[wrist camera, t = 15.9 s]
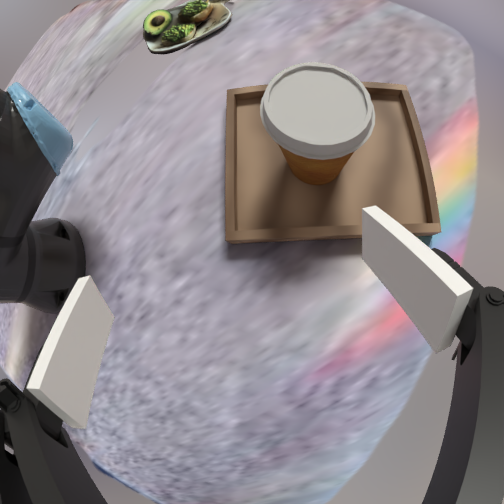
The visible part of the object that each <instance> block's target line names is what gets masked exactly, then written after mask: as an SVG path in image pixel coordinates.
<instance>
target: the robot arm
mask: <svg viewBox="0 0 504 504" xmlns="http://www.w3.org/2000/svg"><path fill="white" fill-rule="evenodd" d="M72 147H73V139H72V136H71V134H70V133H69V132H68V130H67V129H66V128H65V127H64V126H63V125H62V124H61V123H60V122H59V121H58V120H57V119H56V118H55V117H54V116H53V115H52V114H51V113H50V112H49V111H48V110H47V109H46V108H45V107H44V106H43V105H42V104H41V103H40V102H39V101H38V100H37V99H36V98H35V97H34V96H33V95H32V94H31V93H30V92H28V91H27V90H26V89H25V88H24V87H23V86H22V85H21V84H20V83H18V82H15V83H13V84H12V85H11V86H9V87H8V89H7V92H4V91H3V90H1V89H0V303H23V304H25V305H28V306H30V307H33V308H35V309H38V310H40V311H43V312H46V313H59V315H58V317H57V319H56V321H55V323H54V325H53V327H52V329H51V331H50V333H49V336H48V338H47V340H46V342H45V344H44V345H43V346H42V347H41V349H40V351H39V353H38V355H37V360H35V362H34V365H33V366H34V367H32V370H31V372H30V375H29V377H28V380H27V382H26V385H25V388H24V390H23V393H22V392H21V391H20V390H19V389H18V388H17V387H16V386H15V385H14V384H13V383H12V382H11V381H10V380H9V379H2V380H1V381H0V408H1V410H0V504H107V502H106V501H105V499H104V498H103V496H102V495H101V493H100V491H99V490H98V488H97V487H96V485H95V484H94V482H93V480H92V479H91V477H90V475H89V474H88V472H87V470H86V468H85V467H84V465H83V463H82V461H81V459H80V457H79V456H78V454H77V452H76V450H75V448H74V446H73V444H72V442H71V440H70V437H69V435H68V433H67V431H66V430H65V429H64V428H63V427H62V422H63V421H64V422H65V423H66V424H68V425H69V426H70V427H72V428H79V429H86V426H87V421H88V416H89V411H90V406H91V401H92V397H93V393H94V388H95V384H96V380H97V376H98V372H99V368H100V365H101V361H102V357H103V354H104V350H105V347H106V343H107V340H108V337H109V334H110V330H111V327H112V324H113V321H114V318H115V317H114V315H113V314H112V312H111V311H110V309H109V307H108V306H107V304H106V302H105V301H104V299H103V297H102V295H101V294H100V292H99V290H98V288H97V287H96V285H95V283H94V281H93V279H92V278H91V276H86V277H84V274H85V253H84V247H83V243H82V240H81V237H80V235H79V233H78V231H77V229H76V228H75V227H74V226H73V225H72V224H71V223H69V222H68V221H65V220H61V219H57V218H48V219H42V220H37V221H32V219H33V217H34V215H35V213H36V211H37V209H38V207H39V205H40V203H41V201H42V200H43V198H44V196H45V194H46V192H47V191H48V189H49V187H50V185H51V184H52V182H53V180H54V179H55V177H56V176H59V174H60V169H61V167H62V166H63V164H64V162H65V161H66V159H67V157H68V156H69V154H70V152H71V150H72ZM362 259H363V260H364V261H365V263H366V264H367V265H368V266H369V267H370V269H371V270H372V271H373V272H374V273H375V275H376V276H377V277H378V278H379V280H380V281H381V282H382V283H383V284H384V286H385V287H386V288H387V289H388V291H389V292H390V293H391V294H392V296H393V297H394V298H395V299H396V301H397V302H398V303H399V305H400V306H401V307H402V308H403V310H404V311H405V312H406V314H407V315H408V316H409V318H410V319H411V320H412V322H413V323H414V324H415V326H416V327H417V328H418V330H419V331H420V332H421V334H422V335H423V337H424V338H425V339H426V341H427V342H428V344H429V345H430V346H431V348H432V349H433V351H434V352H435V353H438V352H440V351H442V350H444V349H446V348H447V347H449V346H451V344H452V342H453V340H454V337H455V335H456V336H457V337H458V338H459V339H460V342H459V344H458V346H457V348H456V350H455V353H454V354H453V357H452V360H454V359H455V357H456V355H457V364H456V373H455V381H454V388H453V395H452V401H451V407H450V412H449V417H448V422H447V426H446V430H445V435H444V439H443V443H442V446H441V450H440V454H439V457H438V460H437V464H436V467H435V470H434V473H433V476H432V479H431V482H430V484H429V487H428V490H427V493H426V495H425V498H424V500H423V502H422V504H502V500H503V497H504V292H503V291H502V290H500V289H499V288H496V287H485V288H484V287H482V286H481V285H480V284H479V283H478V282H477V281H476V280H475V279H474V278H473V277H472V276H471V275H470V274H469V273H467V272H466V271H465V270H464V269H463V268H462V267H460V265H459V264H458V263H457V262H454V260H453V259H452V258H451V257H450V256H448V255H447V254H446V253H445V252H442V251H440V250H438V249H436V248H433V249H430V248H429V247H428V246H426V245H425V244H424V243H423V242H422V241H420V240H419V239H418V238H417V237H416V236H414V235H413V234H412V233H411V232H409V231H408V230H407V229H406V228H404V227H403V226H402V225H401V224H399V223H398V222H397V221H396V220H394V219H393V218H392V217H390V216H389V215H388V214H386V213H385V212H384V211H382V210H381V209H380V208H378V207H377V206H371V207H366V208H362ZM4 444H6V445H7V446H9V447H10V448H12V449H13V450H14V454H13V455H12V454H11V453H9V452H8V451H6V450H5V447H4Z"/></svg>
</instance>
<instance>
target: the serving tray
mask: <svg viewBox="0 0 504 504" xmlns="http://www.w3.org/2000/svg"><path fill="white" fill-rule="evenodd" d="M362 83H363V85H364V86H365V88H366V90H367V91H368V93H369V94H370V98H371V101H372V104H373V106H374V111H375V125H374V128H373V131H372V134H371V136H370V137H369V138H368V140H367V141H366V142H365V143H364V144H363V146H361V147H360V148H359V149H357V150H356V151H354V153H353V154H352V156H351V157H350V159H349V160H348V162H347V163H346V165H345V166H344V167H343V169H342V170H341V172H340V173H339V175H338V176H337V177H336V178H335V179H334V180H333V181H331V182H329V183H327V184H323V185H310V184H307V183H304V182H302V181H301V180H299V179H298V178H297V177H295V175H294V174H293V173H292V171H291V169H290V167H289V165H288V163H287V161H286V159H285V157H284V155H283V153H282V151H281V149H280V147H279V145H278V143H277V142H275V141H274V140H273V139H272V137H271V136H270V135H269V134H268V132H267V131H266V129H265V127H264V125H263V123H262V119H261V116H260V105H261V100H262V97H263V95H264V93H265V91H266V88H267V86H268V85H259V86H250V87H243V88H236V89H229V90H227V109H226V173H225V231H226V241H227V242H229V243H231V244H237V243H257V242H279V241H301V240H325V239H349V238H362V208H366V207H371V206H377V207H378V208H380V209H381V210H382V211H384V212H385V213H386V214H388V215H389V216H390V217H392V218H393V219H394V220H396V221H397V222H398V223H399V224H401V225H402V226H403V227H404V228H406V229H407V230H408V231H409V232H411V233H412V234H413V235H414V236H432V235H435V234H438V233H440V232H441V226H440V218H439V211H438V204H437V198H436V192H435V187H434V182H433V177H432V172H431V167H430V163H429V159H428V154H427V150H426V146H425V143H424V139H423V135H422V132H421V128H420V125H419V122H418V118H417V115H416V112H415V109H414V106H413V103H412V100H411V97H410V95H409V92H408V89H407V87H406V85H400V84H390V83H377V82H362Z"/></svg>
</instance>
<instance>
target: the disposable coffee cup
mask: <svg viewBox="0 0 504 504" xmlns="http://www.w3.org/2000/svg"><path fill="white" fill-rule="evenodd" d="M260 116H261V119H262V123H263V125H264V127H265V129H266V131H267V132H268V134H269V135H270V136H271V137H272V139H273V140H274V141H275V142H277V143H278V145H279V147H280V149H281V151H282V153H283V155H284V157H285V159H286V161H287V163H288V165H289V167H290V169H291V171H292V173H293V174H294V175H295V177H297V178H298V179H299V180H301V181H302V182H304V183H307V184H310V185H323V184H327V183H329V182H331V181H333V180H334V179H335V178H336V177H337V176H338V175H339V173H340V172H341V170H342V169H343V167H344V166H345V165H346V163H347V162H348V160H349V159H350V157H351V156H352V154H353V153H354V151H356V150H357V149H359V148H360V147H361V146H363V144H364V143H365V142H366V141H367V140H368V138H369V137H370V136H371V134H372V131H373V128H374V125H375V111H374V106H373V104H372V101H371V98H370V94H369V93H368V91H367V90H366V88H365V86H364V85H363V83H362V82H361V81H359V80H358V79H357V78H356V77H355V76H354V75H352V74H351V73H349V72H348V71H346V70H344V69H341V68H339V67H336V66H334V65H330V64H325V63H313V62H310V63H302V64H297V65H294V66H291V67H289V68H286V69H284V70H283V71H281V72H280V73H278V74H277V75H276V76H275V77H274V78H273V79H272V80H271V81H270V83H269V84H268V86H267V88H266V91H265V93H264V95H263V97H262V100H261V105H260Z"/></svg>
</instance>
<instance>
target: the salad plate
mask: <svg viewBox="0 0 504 504" xmlns="http://www.w3.org/2000/svg"><path fill="white" fill-rule="evenodd" d="M228 1H230V0H190V1H187V2H185V3H183V4H181V5H179V6H177V7H175V8H172V9H168V10H156V11H153V12H151V13H150V14H149V15H148V16H147V17H146V18H145V20H144V23H143V28H144V31H143V36H144V39H145V41H146V43H147V45H148V49H149V50H150V52H151V53H153V54H169V53H173V52H175V51H178V50H180V49H183V48H185V47H187V46H189V45H190V44H193V43H195V42H196V41H198V40H200V39H202V38H204V37H206V36H207V35H209V34H211V33H212V32H214V31H216V30H218V29H219V28H221V27H222V26H224V25H225V24H226V23H227V22H228V21H229V19H230V18H231V16H232V13H231V12H230V11H229V10H228V8H226V7H225V3H226V2H228Z"/></svg>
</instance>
